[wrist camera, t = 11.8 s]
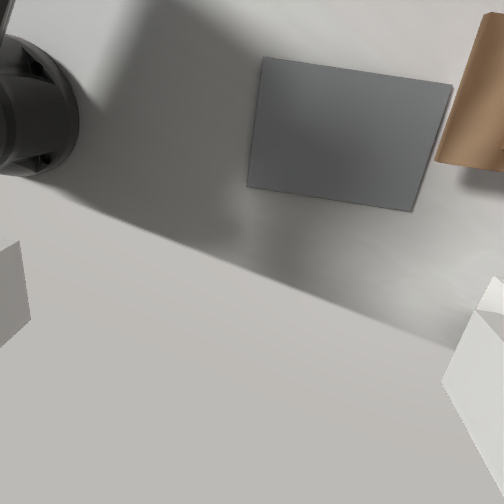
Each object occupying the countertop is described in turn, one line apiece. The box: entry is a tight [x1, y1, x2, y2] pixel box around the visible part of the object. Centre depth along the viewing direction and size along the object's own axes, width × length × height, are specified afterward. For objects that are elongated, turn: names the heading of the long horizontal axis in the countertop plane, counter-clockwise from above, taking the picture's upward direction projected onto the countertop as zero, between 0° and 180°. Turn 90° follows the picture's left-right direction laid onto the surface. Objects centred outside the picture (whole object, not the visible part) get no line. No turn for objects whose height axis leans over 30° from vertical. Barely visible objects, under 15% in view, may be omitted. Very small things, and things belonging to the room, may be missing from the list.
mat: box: [246, 57, 452, 211], centre depth 41 cm, size 20×14×1 cm
